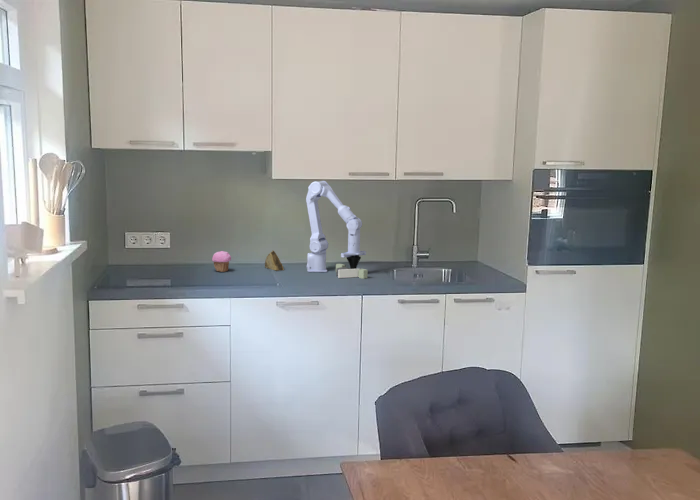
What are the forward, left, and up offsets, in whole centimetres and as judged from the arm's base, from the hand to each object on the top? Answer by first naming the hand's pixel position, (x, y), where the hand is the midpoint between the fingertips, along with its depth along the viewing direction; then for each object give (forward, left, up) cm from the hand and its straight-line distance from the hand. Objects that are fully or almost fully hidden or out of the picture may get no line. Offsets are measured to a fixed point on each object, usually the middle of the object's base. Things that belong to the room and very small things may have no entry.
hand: (353, 270), depth 317 cm
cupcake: (-63, +6, -2) cm, 63 cm away
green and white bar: (-1, -2, -2) cm, 3 cm away
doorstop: (-5, -5, -2) cm, 7 cm away
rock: (-38, +13, -2) cm, 40 cm away
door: (-3, -8, -1) cm, 9 cm away
